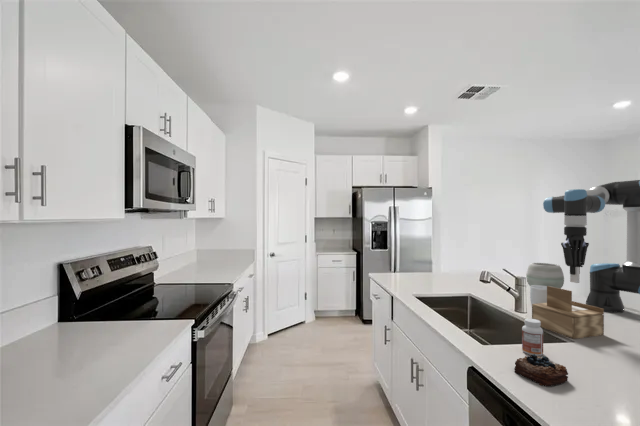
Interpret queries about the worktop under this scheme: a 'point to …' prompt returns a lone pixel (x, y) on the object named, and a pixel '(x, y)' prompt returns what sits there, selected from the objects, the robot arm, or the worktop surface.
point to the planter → (545, 275)
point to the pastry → (541, 370)
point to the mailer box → (569, 323)
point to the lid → (567, 304)
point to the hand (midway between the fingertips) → (574, 282)
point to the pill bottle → (532, 337)
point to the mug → (538, 294)
